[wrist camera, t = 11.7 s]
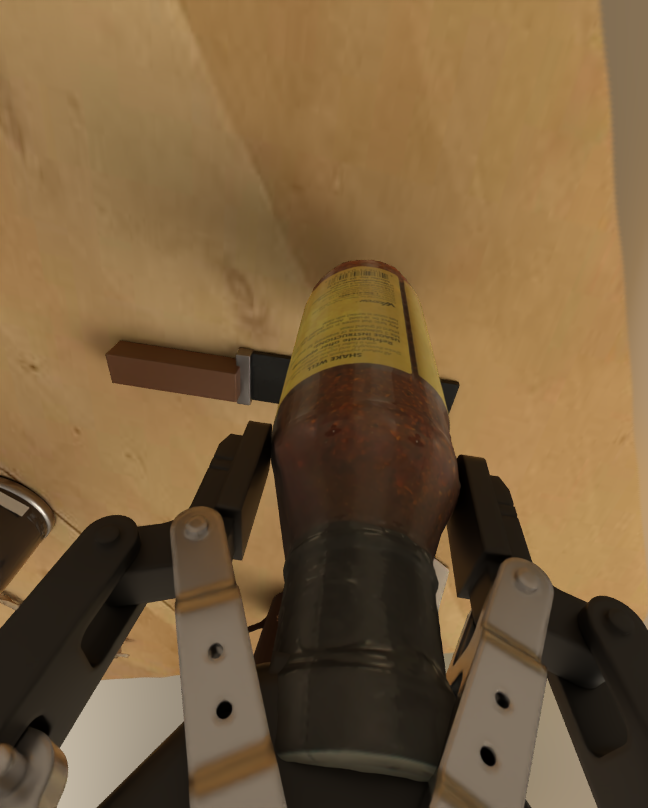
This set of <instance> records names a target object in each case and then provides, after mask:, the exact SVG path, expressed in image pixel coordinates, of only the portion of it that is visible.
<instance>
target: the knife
mask: <svg viewBox="0 0 648 808" xmlns="http://www.w3.org/2000/svg"><path fill="white" fill-rule="evenodd" d="M106 359H107V363H108V367H109V371H110V375H111V379H112V383H117V384H123V385H129V386H136V387H142V388H149V389H155V390H161V391H168V392H174V393H181V394H187V395H194V396H200V397H206V398H213V399H219V400H226V401H232V402H237V403H238V404H244V405H250V404H251V402H252V400H258V401H264V402H271V403H277V404H279V402H280V398H281V394H282V390H283V387H284V383H285V379H286V375H287V371H288V368H289V364H290V360H291V357H290V356H283V355H277V354H270V353H263V352H257V351H253V350H252V349H245V348H239V350H238V352H237V353H236V358H231V357H224V356H218V355H211V354H205V353H198V352H192V351H185V350H179V349H172V348H166V347H159V346H153V345H146V344H140V343H133V342H127V341H119V342H118V343H117V344H116V345H115V346H114V347H113V348H111V349H110V350H109V351H108V352H107V353H106ZM440 382H441V386H442V390H443V394H444V398H445V402H446V406H447V410H448V414H449V412H450V410H451V407H452V404H453V401H454V399H455V396H456V393H457V391H458V388H459V382H454V381H447V380H440Z"/></svg>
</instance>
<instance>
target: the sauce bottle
mask: <svg viewBox="0 0 648 808" xmlns="http://www.w3.org/2000/svg"><path fill="white" fill-rule="evenodd" d="M449 432H450V420H449V414H448V410H447V406H446V402H445V398H444V394H443V390H442V386H441V382H440V378H439V374H438V371H437V367H436V363H435V359H434V355H433V351H432V347H431V343H430V339H429V335H428V331H427V327H426V323H425V319H424V315H423V311H422V307H421V304H420V301H419V299H418V296H417V295H416V293H415V291H414V290H413V288H412V287H411V285H410V284H409V283H408V282H407V280H406V279H405V278H404V277H403V276H402V274H401V273H400V272H399V271H398V270H397V269H396V268H395V267H392V266H390V265H388V264H386V263H383V262H380V261H374V260H368V261H367V260H356V261H348V262H345V263H342V264H341V265H339V266H337V267H335V268H334V269H333V270H332V271H330V272H328V273H327V274H326V275H325V276H324V277H323V278H322V279H321V280H320V281H319V282H318V283H317V284H316V286H315V287H314V288H313V291H312V294H311V296H310V297H309V299H308V301H307V303H306V306H305V309H304V313H303V316H302V320H301V323H300V327H299V331H298V334H297V338H296V342H295V346H294V349H293V353H292V357H291V360H290V364H289V368H288V371H287V375H286V379H285V383H284V387H283V390H282V394H281V398H280V402H279V406H278V409H277V413H276V417H275V421H274V425H273V430H272V441H271V464H272V468H273V473H274V479H275V487H276V494H277V502H278V509H279V517H280V525H281V533H282V540H283V548H284V555H285V564H284V568H283V576H284V582H285V584H284V589H283V597H282V603H281V607H280V610H279V615H278V629H277V634H276V638H275V642H274V648H273V651H277V652H283V653H289V654H291V655H290V657H289V659H288V661H287V663H286V665H285V666H284V667H283V669H282V670H281V671H280V672H279V673H278V688H279V689H278V693H279V696H278V702H277V712H278V719H277V733H276V738H275V739H276V741H275V743H274V745H275V749H276V752H277V755H278V756H279V757H280V758H281V759H282V760H284V761H287V762H297V763H302V764H309V765H316V766H323V767H332V768H343V769H350V770H355V771H359V772H367V773H378V774H385V775H391V776H396V777H403V778H408V779H411V780H415V781H420V782H428V781H429V779H430V778H431V777H432V776H433V774H434V772H435V770H436V768H437V765H438V762H439V759H440V756H441V752H442V748H443V745H444V741H445V737H446V733H447V730H448V726H449V722H450V718H451V713H452V709H453V706H454V703H455V700H456V697H455V695H454V693H453V690H452V688H451V686H450V684H449V682H448V681H447V679H446V671H445V663H444V656H443V649H442V641H441V634H440V624H439V616H438V609H437V604H436V593H437V590H438V586H439V582H438V579H437V576H436V572H435V569H434V566H433V561H434V558H435V554H436V551H437V547H438V544H439V541H440V537H441V534H442V532H443V530H444V528H445V526H446V524H447V523H448V521H449V519H450V517H451V515H452V514H453V512H454V509H455V507H456V505H457V502H458V497H459V494H460V488H461V484H460V481H459V473H458V464H457V458H456V456H455V453H454V449H453V446H452V442H451V436H450V434H449Z"/></svg>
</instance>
